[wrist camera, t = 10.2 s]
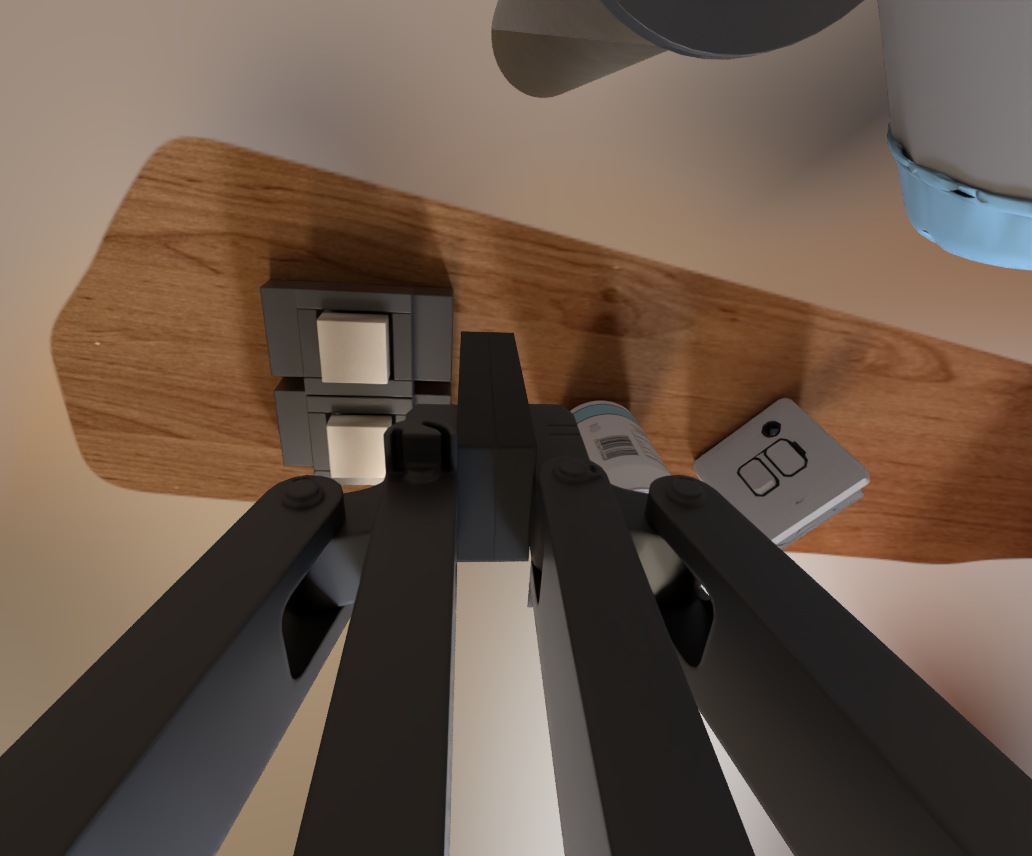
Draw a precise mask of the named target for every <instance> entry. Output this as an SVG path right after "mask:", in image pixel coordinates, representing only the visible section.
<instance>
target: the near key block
mask: <svg viewBox="0 0 1032 856" xmlns="http://www.w3.org/2000/svg"><path fill="white" fill-rule="evenodd" d="M260 292H261V299H262V307H263V314H264V321H265V329H266V336H267V344H268V351H269V359H270V366H271V374H272V376H287V377H304V386H305V394H317V395H354V396H392V397H412V396H413V391H414V380H420V381H451V380H452V336H453V288H436V287H416V286H396V285H375V284H355V283H335V282H315V281H294V280H274V279H270V280H269V281H267V282H266V283H265V284H264V285H262V286H261V287H260ZM322 312H334V313H358V314H381V315H388V318H389V349H390V376H389V380H388V383H387V384H369V383H335V382H322V374H321V363H320V353H319V342H318V331H317V319H318V318H319V316H320V315H321V314H322Z"/></svg>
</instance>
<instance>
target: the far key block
mask: <svg viewBox="0 0 1032 856" xmlns="http://www.w3.org/2000/svg"><path fill="white" fill-rule="evenodd" d="M274 396H275V404H276V411H277V418H278V426H279V433H280V441H281V448H282V456H283V463H284V466H313V469H314V476H324V477H328V478H331V479H334V480H335V481H336V482H338V483H339V484H340V485H378V484H380V483H381V482H383V481H384V479H385V478H332V477H331V472H330V461H329V450H328V439H327V429H326V426H327V423H328V421H329V419H330V417H331V415H332V414H339V415H382V416H391V417H392V425H393V424H395V423H397V422H400V421H404V420H405V419H406V414H407V413H408V412H409V411H410V410H411V409H412V408H413V407H415V406H416V405H417V404H451V383H420V382H414V391H413V396H412V397H392V396H354V395H317V394H305V386H304V379H285V378H283V379H282V380H281V381H280V383H279V384H278V385H277V387H276V388H275V390H274Z"/></svg>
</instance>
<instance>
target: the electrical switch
mask: <svg viewBox="0 0 1032 856" xmlns="http://www.w3.org/2000/svg"><path fill="white" fill-rule="evenodd" d="M693 470H694V471H695V473H696V474H697V476H698V477H699V479H700V480H701V481H702V482H705V483H707V484H708V485H710V486H711V487H713V488H714V489H715V490H717V491H718V492H719V493H720V494H721V495H722V496H723V497H724V498H725V499H727V500H728V501H729V502H730V503H731V504H732V505H733V506H734V507H735V508H736V509H737V510H739V511H740V512H741V513H742V514H743V515H744V516H745V517H746V518H747V519H748V520H749V521H751V522H752V523H753V524H754V525H755V526H756V527H757V528H758V529H759V530H760V531H761V532H763V533H764V534H765V535H766V536H767V537H768V538H769V539H770V540H771V541H772V542H773V543H775V544H776V545H777V544H778V545H777V546H778V547H779V548H780V549H781V550H783V549H784V548H786V547H787V546H789V545H790V544H792V543H793V542H795V541H796V540H798V539H799V538H801V537H802V536H804V535H805V534H807V533H808V532H810V531H811V530H813V529H815V528H816V527H818V526H819V525H821V524H822V523H824V522H825V521H827V520H828V519H830V518H831V517H833V516H834V515H836V514H837V513H839V512H840V511H842V510H843V509H845V508H846V507H848V506H849V505H851V504H853V503H854V502H856V501H857V500H859V499H860V498H862V497H863V496H864V494H863V491H862V490H861V488H862V487H864V486H865V485H867V484H868V483H869V480H870V474H869V472H868V471H867V469H866V468H865V467H864V466H863V465H862V464H861V463H860V462H859V461H858V460H857V459H856V458H854V457H853V456H852V455H851V454H850V453H849V452H848V451H847V450H846V449H845V448H843V447H842V446H841V445H840V444H839V443H838V442H837V441H836V440H835V439H834V438H833V437H831V436H830V435H829V434H828V433H827V432H826V431H825V430H824V429H823V428H822V427H821V426H819V425H818V424H817V423H816V422H815V421H814V420H813V419H812V418H811V417H810V416H809V415H807V414H806V413H805V412H804V411H803V410H802V409H801V408H800V407H799V406H798V405H797V404H795V403H794V402H793V401H792V400H791V399H788V398H782V399H779V400H777V401H776V402H775V403H773V404H772V405H771V406H769V407H768V408H766V409H765V410H764V411H762V412H761V413H760V414H758V415H757V416H756V417H754V418H753V419H752V420H750V421H749V422H747V423H746V424H745V425H743V426H742V427H741V428H739V429H738V430H737V431H735V432H734V433H732V434H731V435H730V436H728V437H727V438H726V439H724V440H723V441H722V442H720V443H719V444H717V445H716V446H715V447H713V448H712V449H711V450H709V451H708V452H707V453H705V454H704V455H702V456H701V457H700V458H698V459H697V460H696V461H695V462H694V466H693Z"/></svg>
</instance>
